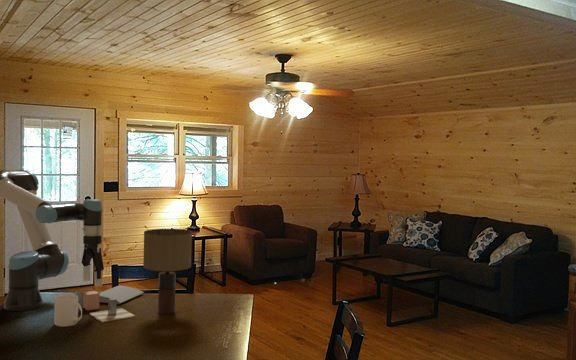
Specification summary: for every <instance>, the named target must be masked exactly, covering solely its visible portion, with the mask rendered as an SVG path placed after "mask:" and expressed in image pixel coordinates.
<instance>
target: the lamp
mask: <svg viewBox="0 0 576 360" xmlns="http://www.w3.org/2000/svg"><path fill="white" fill-rule="evenodd" d="M192 239H193V231H192V230H188V229H183V228H181V229H180V228H155V229H147V230H144V232H143V259H142V260H143V267H142V268H143V269H144V270H147V271H152V272H153V271H154V272H159V273H158V304H157V305H158V307H157V310H158V311H157V312H158V314H159V315H160V314H161V315H172V314H175V311H176V279H177V278H176V276H177V275H176V272H179V271H185V270H189V269H190V268H192V251H193V250H192V249H193V247H192V244H193V240H192Z"/></svg>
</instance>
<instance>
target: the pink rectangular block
mask: <svg viewBox="0 0 576 360" xmlns="http://www.w3.org/2000/svg"><path fill="white" fill-rule="evenodd" d="M82 293H83V294H82V295H83V297H82V299H83V301H82V309H84V308H85V309H84V310H86V311H92V310H99V309H100V302H99V298H100V293H101V292H98V291H97V290H90V291H84V292H82Z"/></svg>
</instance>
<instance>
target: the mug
mask: <svg viewBox="0 0 576 360" xmlns="http://www.w3.org/2000/svg"><path fill="white" fill-rule="evenodd" d="M79 310H80V316H79ZM53 313H54V318H53V319H54V325H55V326H56V327H60V328H61V327H62V328H63V327H64V328H66V327H67V328H68V327H72V326H75V325H77V324H78V322H79V321H81V319H82V317H83V306H81V304H80V303H79V296H78V295H77V294H72V293H71V294H60V295H57V296H54V311H53Z"/></svg>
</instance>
